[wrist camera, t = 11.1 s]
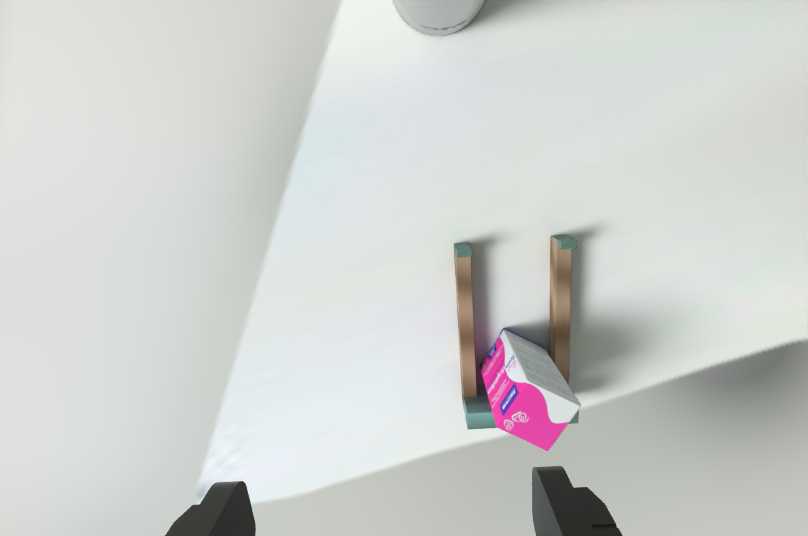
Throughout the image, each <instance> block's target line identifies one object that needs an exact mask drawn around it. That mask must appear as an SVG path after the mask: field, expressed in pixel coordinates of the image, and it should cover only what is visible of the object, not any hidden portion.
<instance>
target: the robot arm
mask: <svg viewBox="0 0 808 536" xmlns="http://www.w3.org/2000/svg"><path fill="white" fill-rule="evenodd" d="M484 1H485V0H393V3H394V5H395V7H396V9H397V11H398V13H399V14H400V16H401V17H402V18H403V19H404V21H405V22H406V23H407V24H408V25H410V26H411V27H412V28H413V29H415V30H417V31H419V32H421V33H423V34H427V35H431V36H444V35H448V34H452V33H455V32H457V31H459V30H461V29H462V28H464V27H465V26H466V25H468V24H469V23H470V22H471V21H472V20H473V19H474V17H475V16H476V15H477V14H478V12H479V10H480V9H481V7H482V5H483V3H484ZM532 513H533V521H534V527H535V532H536V536H622V534H621V532H620V531H619V529H618V528H617V527H616V523H615V521H614V520H613V518H612V516H611V514H610V512H609V511H608V509H607V507H606V505H605V504H604V503H603V502H602V501H601V500H600V499H599V498H598V497H597V496H596V495H595V494H594V493H593V492H592V491H590V489H588V488H587V487H580V488H573V486H572V484H571V482H570V480H569V478H568V476H567V474H566V472H565V470H564V468H563V467H561V466H552V467H534V468H533V471H532ZM255 530H256V528H255V520H254V516H253V512H252V508H251V503H250V499H249V495H248V491H247V487H246V484H245V483H244V482H243V481H238V482H218V483H215V484H213V485H212V486H211V488H210V489H209V491H208V492H207V494H206V496H205V497H204V499H203V500H202V502H201V504H200V505H192V506H191V507H190V508H189V509H188V510H187V511H186V512H185V513H184V514H183V515H182V516H181V517H179V518H178V519H177V520H176V521H175V522H174V523H173V525H172V526H171V528H170V529H169V531H168V532H167V534H166V535H165V536H255Z"/></svg>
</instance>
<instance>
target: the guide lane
mask: <svg viewBox="0 0 808 536" xmlns="http://www.w3.org/2000/svg"><path fill="white" fill-rule="evenodd" d="M576 245H577V240H574V239H572V238H570V237H568V236H566V235H556V236H551V251H550V347H549V356H550V358H551V359H552V361H553V362H554V364H555V365H556V367H557V369H558V370H559V372H560V373H561V375H562V376H563V378H564V379H565V381H566V383H567V384H568V376H569V336H570V296H571V256H572V249H574V248H576ZM454 257H455V275H456V293H457V311H458V328H459V346H460V364H461V382H462V400H463V407H464V412H465V417H466V422H467V427H468V429H483V428H498V427H496V423H495V420H494V416H493V412H492V409H491V405H490V402H489V398H488V394H487V390H486V387H476V370H475V348H474V325H473V303H472V281H471V259H470V257H472V249H471V247H470V246H469V244H468V243H457V244H454ZM578 415H579V410H578V411H577V413H576V414H575V415H574V417H573V418H572V419H571V421H570V422H569V423H568V424H570V423H578Z"/></svg>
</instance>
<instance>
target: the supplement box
mask: <svg viewBox="0 0 808 536" xmlns="http://www.w3.org/2000/svg"><path fill="white" fill-rule="evenodd" d="M480 369H481V372H482V376H483V380H484V383H485V387H486V390H487V394H488V398H489V402H490V405H491V409H492V412H493V416H494V420H495V423H496V427H498V428H500V429H502V430H504V431H506V432H508V433H510V434H513V435H515V436H517V437H519V438H521V439H524V440H526V441H528V442H530V443H532V444H534V445H536V446H538V447H540V448H542V449H544V450H546V451H548V450H549V449H550V448H551V446H552V445H553V444H554V442H555V441H556V440H557V438H558V437H559V436H560V434H561V433H562V432H563V430H564V429H565V427H566V426H567V425H568V423H569V422H570V421H571V419H572V418H573V417H574V415H575V414H576V413H577V411H578V410H579V409H580V407H581V404H580V402H579V401H578V399H577V398H576V396H575V395H574V393H573V392H572V390H571V389H570V387H569V386H568V384H567V383H566V381H565V379H564V378H563V376H562V375H561V373H560V372H559V370H558V369H557V367H556V365H555V364H554V362H553V361H552V359H551V358H550V356H549V355H548V353H547V351H546V350H545V348H543V347H541V346H540V345H538V344H535V343H533V342H531V341H529V340H527V339H525V338H523V337H521V336H519V335H517V334H515V333H513V332H511V331H509V330H507V329H505V328H503V329H502V331H501V333H500V334H499V336H498V338H497V340H496V342H495V343H494V345H493V346H492V348H491V349H490V351H489V353H488V354H487V356H486V357H485V359H484V360H483V361H482V363H481V364H480Z"/></svg>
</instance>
